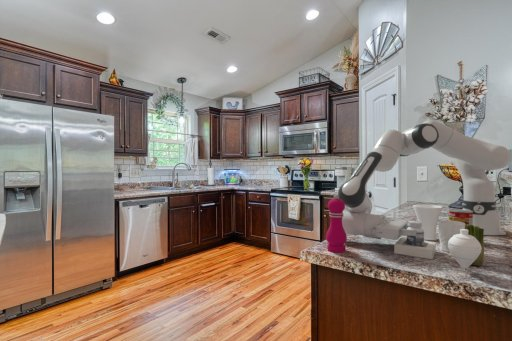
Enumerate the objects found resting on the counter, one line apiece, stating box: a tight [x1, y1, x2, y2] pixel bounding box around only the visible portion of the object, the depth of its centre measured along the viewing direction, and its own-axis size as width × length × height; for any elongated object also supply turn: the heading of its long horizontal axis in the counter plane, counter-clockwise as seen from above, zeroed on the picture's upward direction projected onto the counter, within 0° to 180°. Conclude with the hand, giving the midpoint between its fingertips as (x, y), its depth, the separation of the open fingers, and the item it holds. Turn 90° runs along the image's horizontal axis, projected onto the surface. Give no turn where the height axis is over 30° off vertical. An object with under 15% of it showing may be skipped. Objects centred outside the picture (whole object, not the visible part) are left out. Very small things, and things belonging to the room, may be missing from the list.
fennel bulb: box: [466, 225, 485, 266], centre depth 87 cm, size 6×5×12 cm
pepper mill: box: [325, 193, 348, 254], centre depth 102 cm, size 7×7×20 cm
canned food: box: [448, 208, 473, 229], centre depth 115 cm, size 8×8×12 cm
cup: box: [412, 203, 444, 241], centre depth 118 cm, size 10×10×14 cm
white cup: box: [437, 219, 465, 253], centre depth 101 cm, size 8×8×10 cm
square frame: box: [393, 237, 437, 260], centre depth 99 cm, size 11×11×3 cm
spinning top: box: [448, 229, 482, 273], centre depth 80 cm, size 8×8×12 cm
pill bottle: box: [406, 220, 425, 247], centre depth 99 cm, size 5×5×9 cm
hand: (418, 231), depth 99 cm, fingers closed on pill bottle, 5 cm apart
